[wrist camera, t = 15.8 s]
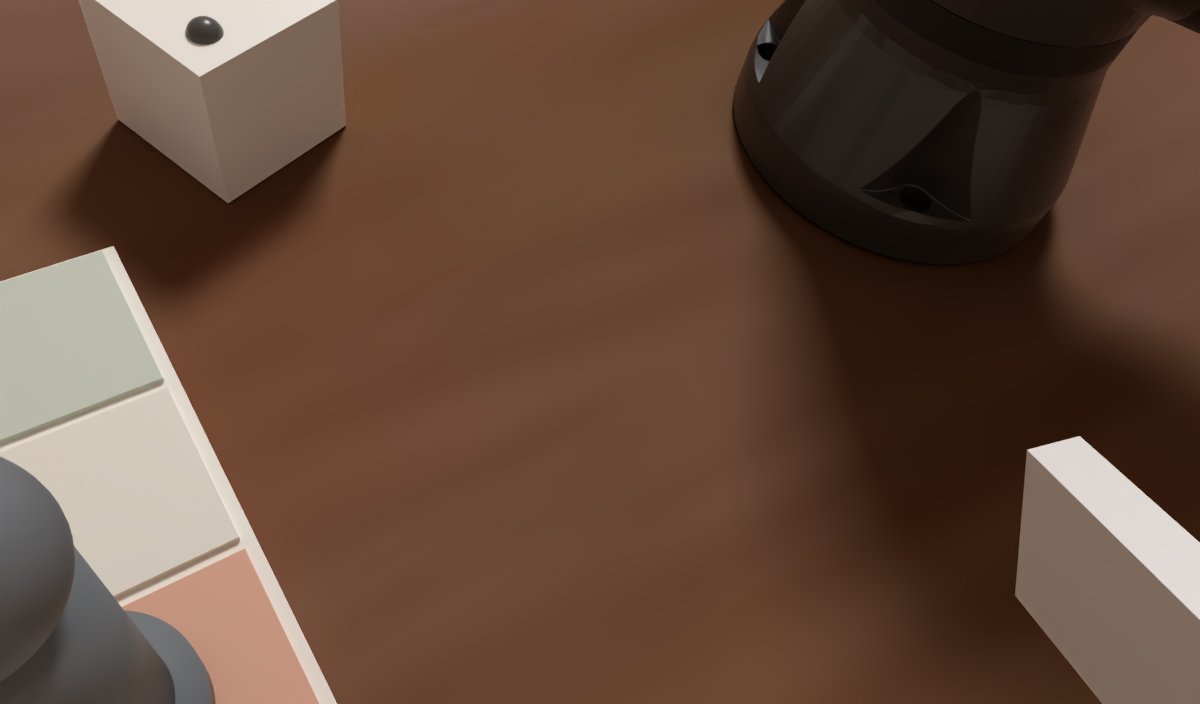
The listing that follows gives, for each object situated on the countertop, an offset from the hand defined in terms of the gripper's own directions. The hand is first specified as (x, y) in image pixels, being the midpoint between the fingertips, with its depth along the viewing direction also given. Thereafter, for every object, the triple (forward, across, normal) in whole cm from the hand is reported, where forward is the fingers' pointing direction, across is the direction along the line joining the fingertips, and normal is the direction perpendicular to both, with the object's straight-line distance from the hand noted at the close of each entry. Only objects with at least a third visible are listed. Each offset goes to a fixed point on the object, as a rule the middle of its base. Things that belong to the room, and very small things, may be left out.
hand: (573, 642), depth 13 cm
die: (+30, -9, +1) cm, 31 cm away
